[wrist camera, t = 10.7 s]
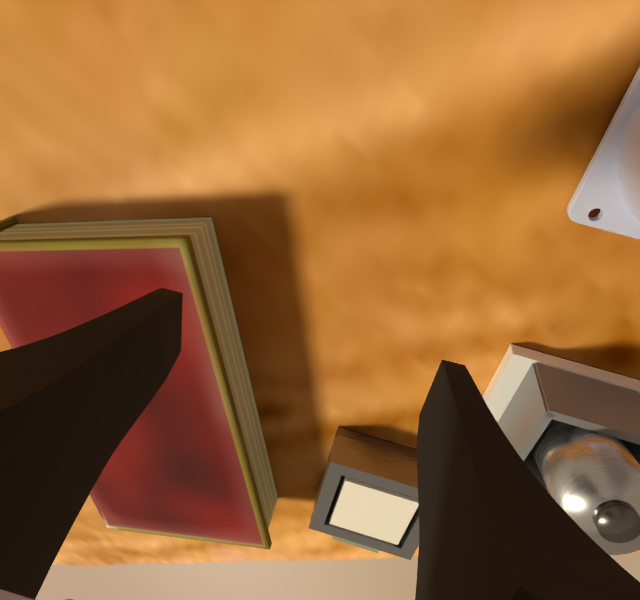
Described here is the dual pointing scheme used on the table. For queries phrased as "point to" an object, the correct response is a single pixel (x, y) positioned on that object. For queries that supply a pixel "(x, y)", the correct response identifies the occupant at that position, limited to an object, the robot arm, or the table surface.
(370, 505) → the pad
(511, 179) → the table surface
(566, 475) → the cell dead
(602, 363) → the table surface
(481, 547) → the robot arm
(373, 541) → the cradle
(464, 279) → the table surface
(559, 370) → the battery holder
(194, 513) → the hardcover book
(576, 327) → the table surface
